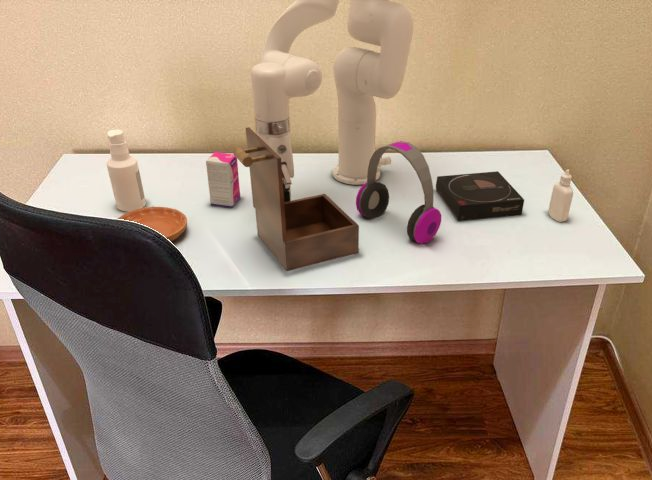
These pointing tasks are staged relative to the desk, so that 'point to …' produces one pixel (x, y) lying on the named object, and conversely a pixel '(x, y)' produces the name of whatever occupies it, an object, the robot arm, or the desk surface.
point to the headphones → (376, 194)
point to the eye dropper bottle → (561, 198)
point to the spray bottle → (124, 174)
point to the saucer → (159, 220)
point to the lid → (265, 181)
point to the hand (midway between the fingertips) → (277, 199)
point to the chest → (311, 233)
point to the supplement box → (223, 179)
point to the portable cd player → (479, 196)
